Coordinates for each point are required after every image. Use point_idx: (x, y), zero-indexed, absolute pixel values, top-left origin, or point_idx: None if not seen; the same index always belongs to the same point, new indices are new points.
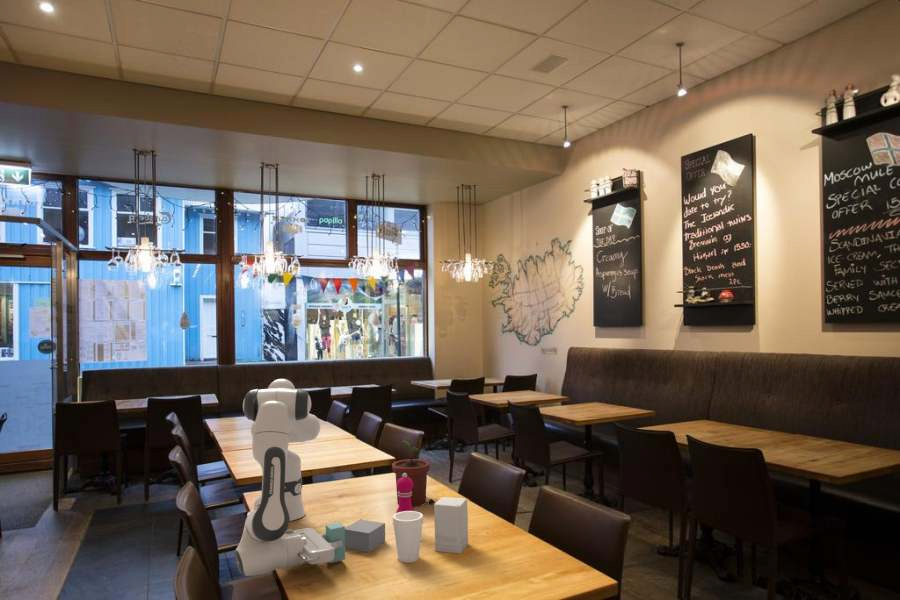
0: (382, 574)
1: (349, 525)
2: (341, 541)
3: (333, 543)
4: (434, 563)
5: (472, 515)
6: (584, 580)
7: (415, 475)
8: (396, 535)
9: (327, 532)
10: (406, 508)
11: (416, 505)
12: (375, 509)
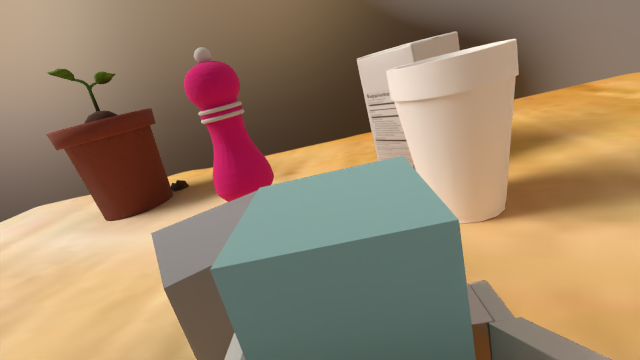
0: None
1: (158, 263)
2: (485, 285)
3: (598, 355)
4: (528, 171)
5: (289, 156)
6: (632, 79)
7: (139, 131)
8: (478, 127)
9: (320, 331)
10: (251, 146)
11: (165, 198)
12: (71, 251)
